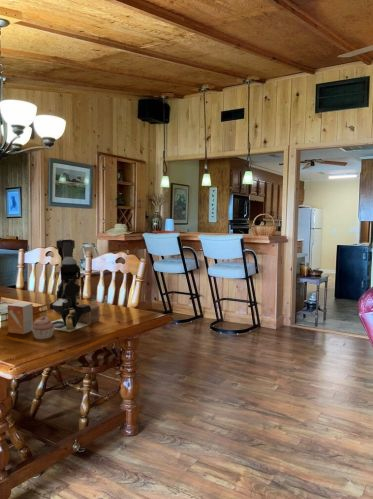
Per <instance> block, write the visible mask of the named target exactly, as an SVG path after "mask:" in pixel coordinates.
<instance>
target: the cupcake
mask: <svg viewBox="0 0 373 499" xmlns="http://www.w3.org/2000/svg"><path fill="white" fill-rule="evenodd" d="M52 322H53V321H51V320H50V319H49V318H48V317H47V316H46V315H41V316H40V317H39V318H38V319H37V320H35V321H34V322H33V327H32V329H31V330H32V331H31V332H32V334H33V336H34V339H36V340H47V339H49V338H52V337H53V333H54V330H55V329H54V328H55V327H54V326H53V325H52Z"/></svg>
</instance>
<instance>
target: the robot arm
mask: <svg viewBox="0 0 373 499" xmlns="http://www.w3.org/2000/svg"><path fill="white" fill-rule="evenodd" d="M75 242H76V241H75V239H71V238H61V239H58V240H56V241H55V244H56V245H55V246H56V247H55V248H56V250H57V252H58V255H59V256H60V266H59V270H60V271H59V272H60V283H59V284H58V286H57V290H56V301H53V302H51V303H50V304H49V309H50V310H51V311H53V310H54V312H56V313H58V314H59V315H60V317H61V319H63V321H64V324H65V326H66V315H67V314H69V312H70V310H74V312H73V313H71V315H72V316H73V327H76V325H77V323H78V321H79V319H80V317H81V315H82V314H85V313H88V312H91V307H90V305H91V304H89V305H84V304H85V303H84V304H80V303H79V301H77V300H78V298H77V297H78V296H80V295H79V294H80V293H79V291H80V287H79V285H78V284H77V280H80V278H81V275H82V274H81V268H80V265H79V264H78V263H77V260H76V259H74V256H73V255H74V250H75V248H76V244H75ZM79 304H80V305H79Z"/></svg>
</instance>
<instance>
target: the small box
mask: <svg viewBox="0 0 373 499" xmlns="http://www.w3.org/2000/svg"><path fill="white" fill-rule="evenodd" d="M33 305H34V304H33V303H31V302H19V301H18V302H13V303H11V304H7V333H11V334H19V335H25V334H28V333H30V332H32V330H31V329H32V327H33V326H34V314H33V313H34V312H33V310H34V309H33V308H34V306H33Z"/></svg>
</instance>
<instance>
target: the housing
mask: <svg viewBox="0 0 373 499" xmlns="http://www.w3.org/2000/svg"><path fill="white" fill-rule="evenodd" d="M84 305H90V307H91V312H88V313H85V314H82V315H81V317H80V319H79V321H78V322H81V323H87V324H89V325H91V323H92V324H93V322H94V323H96V321H97V322H99V321H100V306H99V305H95V304H87V303H84Z"/></svg>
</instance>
